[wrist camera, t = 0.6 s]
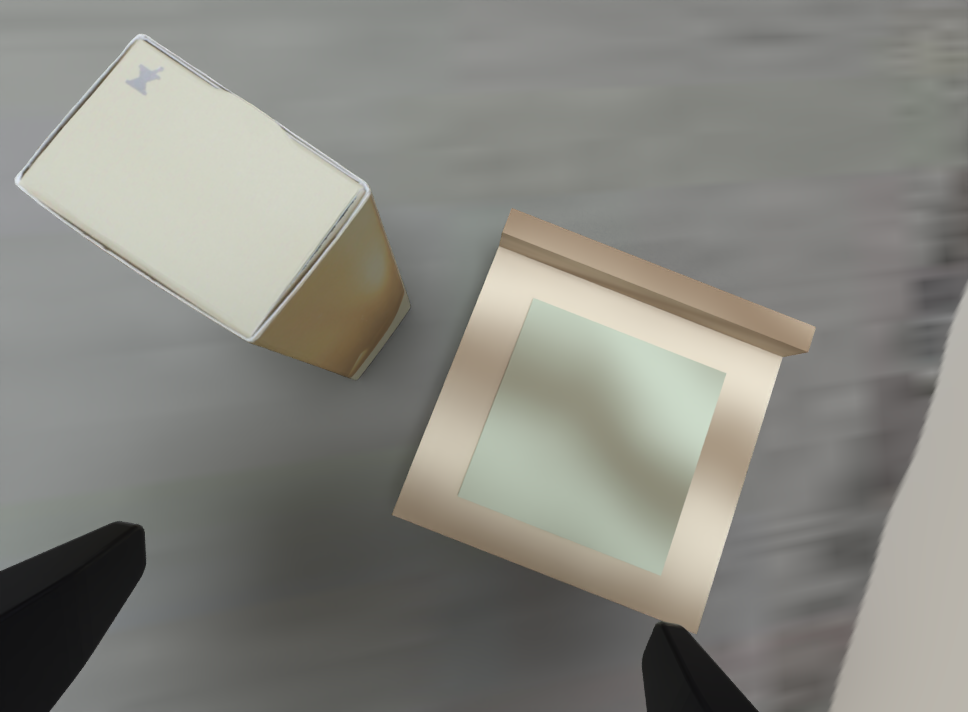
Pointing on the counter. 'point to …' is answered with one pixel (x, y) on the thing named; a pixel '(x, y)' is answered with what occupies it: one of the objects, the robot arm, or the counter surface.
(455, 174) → the counter surface
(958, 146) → the counter surface
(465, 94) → the counter surface
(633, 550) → the stand
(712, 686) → the robot arm
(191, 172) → the skincare box
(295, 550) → the counter surface
